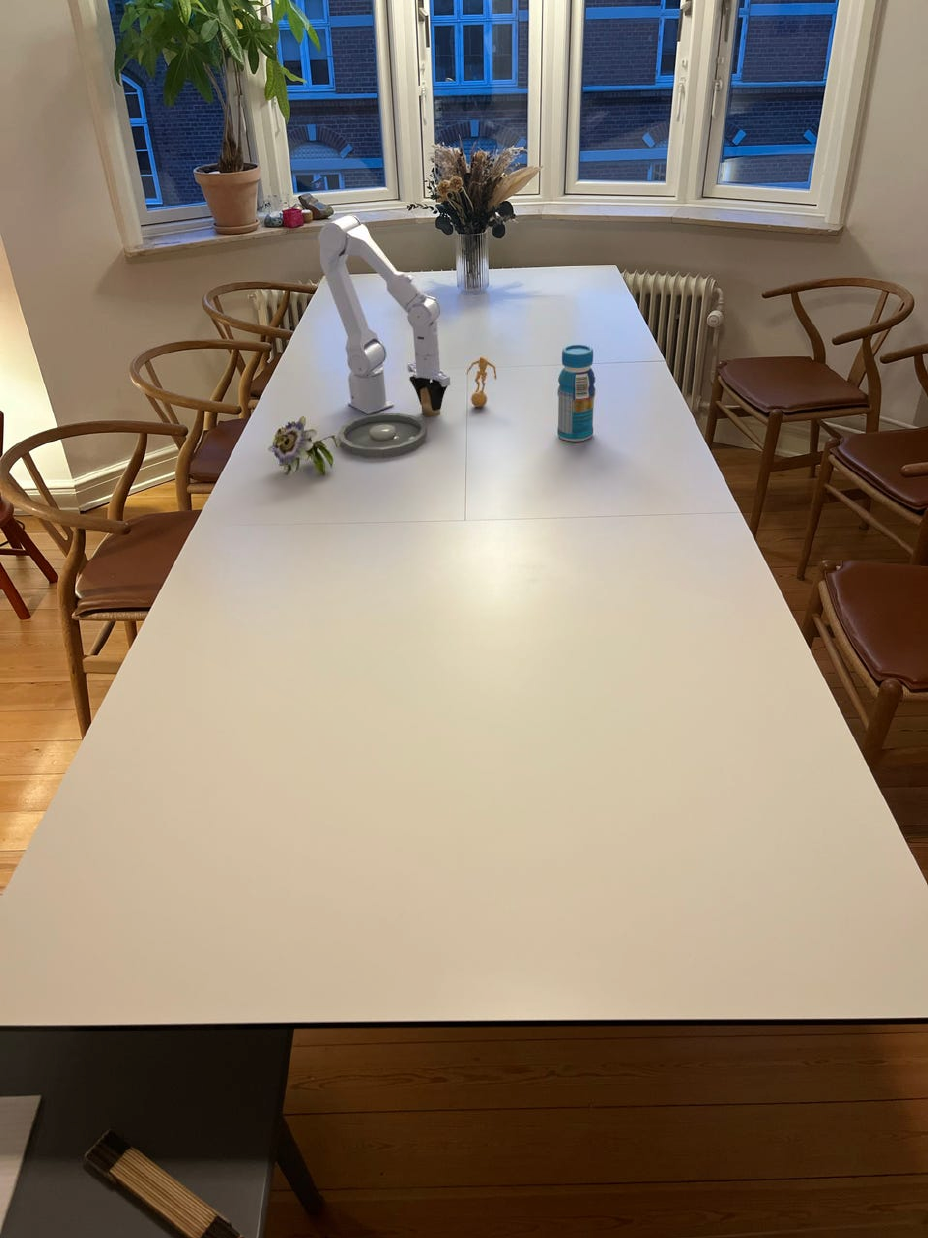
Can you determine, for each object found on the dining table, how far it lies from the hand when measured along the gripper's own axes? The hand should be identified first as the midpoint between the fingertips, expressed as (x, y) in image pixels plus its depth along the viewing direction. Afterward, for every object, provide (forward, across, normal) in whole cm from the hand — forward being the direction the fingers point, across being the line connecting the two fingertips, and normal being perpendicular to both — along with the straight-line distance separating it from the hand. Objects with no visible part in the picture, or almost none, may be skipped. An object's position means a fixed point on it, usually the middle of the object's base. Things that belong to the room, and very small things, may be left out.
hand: (430, 406), depth 215 cm
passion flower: (+2, +4, -38) cm, 38 cm away
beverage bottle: (+2, +34, +16) cm, 38 cm away
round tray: (+2, +4, -17) cm, 18 cm away
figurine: (+2, +5, +12) cm, 13 cm away
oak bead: (+2, 0, 0) cm, 2 cm away
